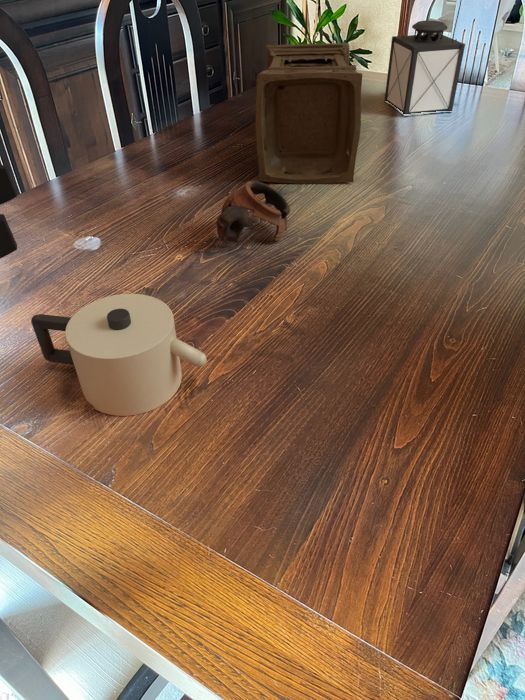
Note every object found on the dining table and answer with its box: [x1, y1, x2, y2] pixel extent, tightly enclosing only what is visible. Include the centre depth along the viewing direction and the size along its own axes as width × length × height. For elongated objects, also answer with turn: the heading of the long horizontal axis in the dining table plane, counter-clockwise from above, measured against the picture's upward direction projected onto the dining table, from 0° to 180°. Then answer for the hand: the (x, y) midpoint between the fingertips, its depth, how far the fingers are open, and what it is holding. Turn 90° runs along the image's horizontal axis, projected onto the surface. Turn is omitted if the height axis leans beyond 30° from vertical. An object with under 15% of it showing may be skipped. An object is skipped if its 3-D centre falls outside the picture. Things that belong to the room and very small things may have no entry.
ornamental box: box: [255, 42, 363, 185], centre depth 100 cm, size 35×18×18 cm, turn 177°
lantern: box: [384, 0, 466, 114], centre depth 114 cm, size 11×11×28 cm
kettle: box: [30, 293, 208, 417], centre depth 52 cm, size 17×10×8 cm, turn 79°
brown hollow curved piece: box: [215, 180, 291, 243], centre depth 77 cm, size 12×10×8 cm
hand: (11, 204), depth 35 cm, fingers open, 7 cm apart
